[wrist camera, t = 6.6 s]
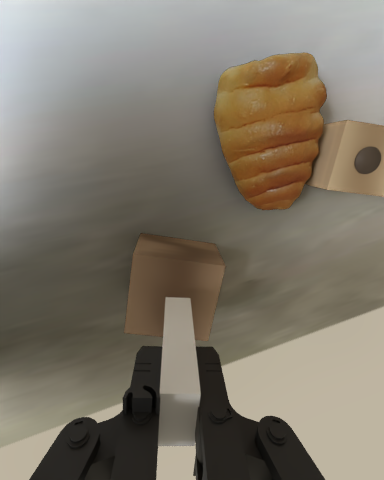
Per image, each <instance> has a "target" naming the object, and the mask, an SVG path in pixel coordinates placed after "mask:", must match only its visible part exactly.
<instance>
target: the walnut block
mask: <svg viewBox="0 0 384 480" xmlns="http://www.w3.org/2000/svg"><path fill="white" fill-rule="evenodd" d="M225 267H226V266H225V264H224V261H223V259H222V257H221V255H220V253H219V251H218V249H217V247H216V245H215V244H213V243H206V242H199V241H192V240H185V239H178V238H171V237H165V236H158V235H151V234H144V233H141V234H140V237H139V239H138V242H137V244H136V247H135V250H134V252H133V258H132V267H131V275H130V284H129V293H128V302H127V311H126V320H125V329H124V333H128V334H139V335H149V336H160V337H163V331H164V315H165V299H166V297H175V298H190V299H191V309H192V318H193V327H194V336H195V340H203V341H208V339H209V335H210V331H211V326H212V322H213V318H214V314H215V309H216V305H217V301H218V297H219V292H220V288H221V284H222V280H223V275H224V271H225Z"/></svg>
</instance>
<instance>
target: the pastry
mask: <svg viewBox="0 0 384 480" xmlns="http://www.w3.org/2000/svg"><path fill="white" fill-rule="evenodd" d="M326 97H327V94H326V88H325V85H324V84H323V83H322V81H321V80H319V78H318V66H317V64H316V61H315V59H314V57H313V56H312V55H311V54H308V53H290V54H278V55H273V56H270V57H267V58H265V59H263V60H261V61H256V60H255V61H252V62H249V63H247V64H243V65H239V66H235V67H230V68H228V69H227V70H226V71H225V72H224V73H223V74H222V75H221V77H220V80H219V83H218V90H217V98H216V104H215V108H214V120H215V123H216V127H217V132H218V134H219V138H220V142H221V148H222V152H223V155H224V157H225V159H226V161H227V164H228V166H229V168H230V171H231V173H232V176H233V178H234V181H235V183H236V185H237V187H238V190H239V191H240V193H241V194H242V196H243V197H244V198H245V200H247V201H248V202H250V203H251V204H252V205H253V206H255V207H256V208H257V209H262V210H273V209H280V210H281V209H287V208H289V207H290V206H291V205H292V204H293V202H294V201H295V200H296V199H297V198H298V197H299V196H300V194H301V191H302V189H303V187H304V184H305V183H306V181H307V180H308V179H309V178H310V176H311V173H312V162H313V160H314V159H315V157H316V156H317V155H318V153H319V147H318V140H319V138H320V137H321V135H322V133H323V124H324V121H323V117H322V116H321V114H320V112H319V111H320V108H321V107H322V105H323V104H324V102H325V101H326Z"/></svg>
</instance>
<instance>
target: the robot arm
mask: <svg viewBox="0 0 384 480" xmlns="http://www.w3.org/2000/svg"><path fill="white" fill-rule="evenodd" d="M195 443H196V458H195V466H194V474H193V475H194V476H196V480H325V479H324V477H323V476H322V474H321V473H320V471H319V469H318V468H317V467H316V465H315V463H314V462H313V460H312V459H311V457H310V456H309V454H308V453H307V451H306V450H305V448H304V447H303V445H302V444H301V442H300V441H299V439H298V437H297V436H296V434H295V433H294V431H293V430H292V428H291V427H290V426H289V425H288V424H287V423H286V422H285V421H283V420H282V419H280V418H278V417H275V416H266V417H264V418H262V419H261V420H260V422H256V421H253V420H250V419H247V418H245V417H242V416H241V415H239V414H238V413H237V412H236V411H235V410H234V409H233V408H232V407H231V405H230V403H229V400H228V396H227V391H226V387H225V382H224V377H223V373H222V368H221V365H220V359H219V355H218V353H217V352H216V350H215V349H214V348H213V347H196V345H195V336H194V327H193V318H192V309H191V299H190V298H175V297H166V299H165V315H164V331H163V347H158V346H142V347H141V349H140V350H139V351H138V353H137V355H136V360H135V366H134V372H133V376H132V381H131V387H130V388H129V389H128V390H127V391H126V392H125V394H124V397H123V410H122V412H121V413H120V414H118V415H117V416H115V417H114V418H111V419H109V420H106V421H103V422H100V423H97V422H96V421H95V420H94V419H92V418H89V417H81V418H78V419H75V420H73V421H72V422H70V423H69V424H67V425H66V426H65V427H64V429H63V430H62V431H61V432H60V434H59V435H58V437H57V438H56V440H55V441H54V443H53V444H52V446H51V447H50V449H49V450H48V452H47V454H46V455H45V456H44V458H43V460H42V461H41V463H40V464H39V466H38V467H37V469H36V470H35V472H34V473H33V475H32V476H31V478H30V479H29V480H156V470H157V451H158V446H194V445H195Z"/></svg>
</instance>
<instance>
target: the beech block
mask: <svg viewBox="0 0 384 480" xmlns="http://www.w3.org/2000/svg"><path fill="white" fill-rule="evenodd" d="M318 147H319V153H318V155H317V156H316V157H315V159H314V160H313V162H312V173H311V176H310V178H309V179H308V180H307V181H306V183H305V184H306V185H310V186H314V187H318V188H322V189H326V190H334V191H342V192H350V193H358V194H366V195H374V196H383V197H384V126H382V125H376V124H369V123H363V122H356V121H350V120H344V121H339V122H334V123H329V124H323V133H322V135H321V137H320V138H319V140H318Z"/></svg>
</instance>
